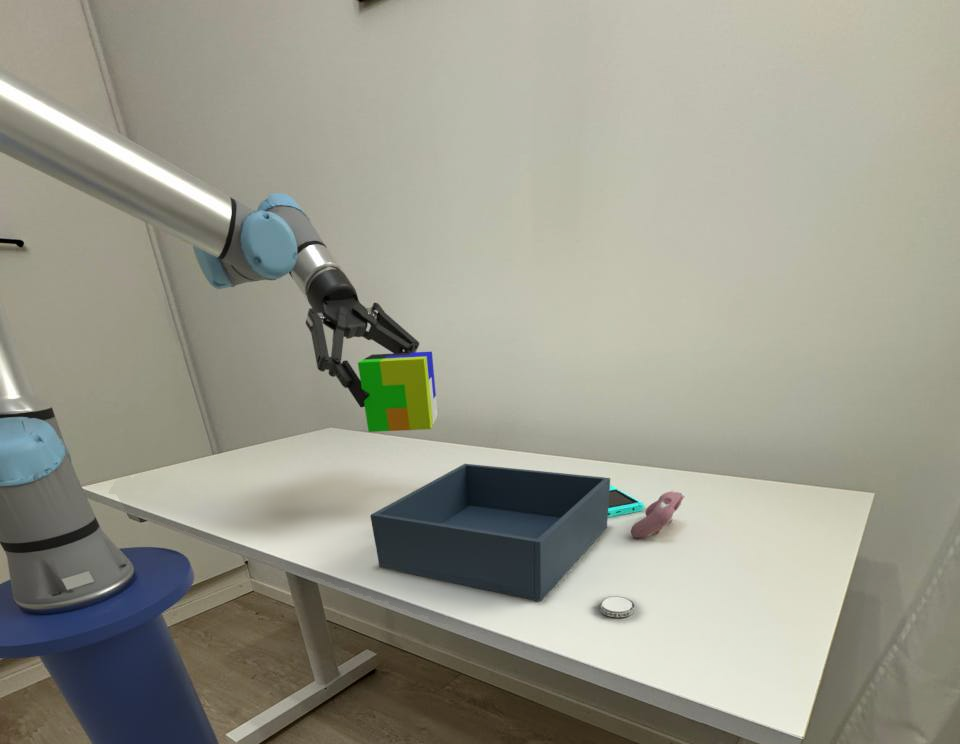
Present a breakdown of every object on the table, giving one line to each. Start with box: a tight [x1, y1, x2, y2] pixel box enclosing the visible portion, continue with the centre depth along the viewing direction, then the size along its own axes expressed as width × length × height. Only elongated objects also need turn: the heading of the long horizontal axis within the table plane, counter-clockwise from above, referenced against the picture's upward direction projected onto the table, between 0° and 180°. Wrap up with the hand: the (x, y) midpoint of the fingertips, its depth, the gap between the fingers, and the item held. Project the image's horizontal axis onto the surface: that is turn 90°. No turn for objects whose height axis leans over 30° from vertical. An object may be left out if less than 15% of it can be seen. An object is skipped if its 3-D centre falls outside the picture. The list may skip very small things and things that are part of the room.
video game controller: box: [630, 489, 685, 539], centre depth 84 cm, size 10×5×7 cm, turn 151°
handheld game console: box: [608, 484, 645, 518], centre depth 98 cm, size 10×16×1 cm, turn 19°
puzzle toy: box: [357, 351, 439, 433], centre depth 89 cm, size 10×10×10 cm
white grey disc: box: [599, 596, 635, 618], centre depth 66 cm, size 4×4×1 cm
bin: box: [370, 463, 611, 602], centre depth 82 cm, size 26×26×8 cm
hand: (397, 394), depth 90 cm, fingers closed on puzzle toy, 12 cm apart
